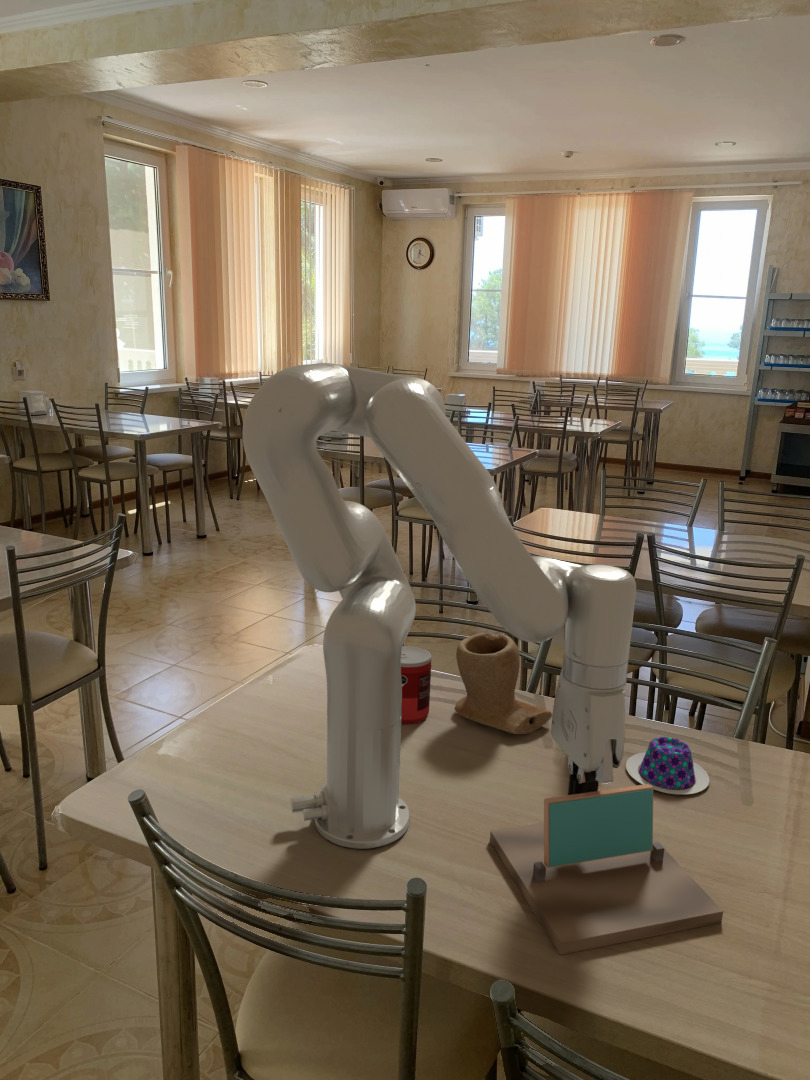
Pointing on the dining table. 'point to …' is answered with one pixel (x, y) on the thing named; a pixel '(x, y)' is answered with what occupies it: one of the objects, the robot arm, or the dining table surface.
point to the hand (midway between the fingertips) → (581, 804)
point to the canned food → (415, 684)
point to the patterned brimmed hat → (668, 767)
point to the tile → (598, 825)
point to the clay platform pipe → (494, 685)
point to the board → (603, 893)
